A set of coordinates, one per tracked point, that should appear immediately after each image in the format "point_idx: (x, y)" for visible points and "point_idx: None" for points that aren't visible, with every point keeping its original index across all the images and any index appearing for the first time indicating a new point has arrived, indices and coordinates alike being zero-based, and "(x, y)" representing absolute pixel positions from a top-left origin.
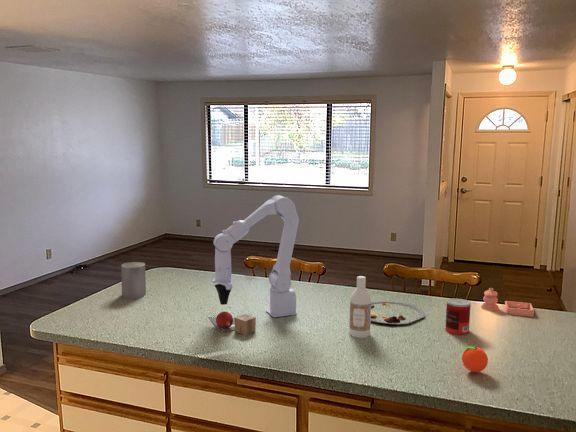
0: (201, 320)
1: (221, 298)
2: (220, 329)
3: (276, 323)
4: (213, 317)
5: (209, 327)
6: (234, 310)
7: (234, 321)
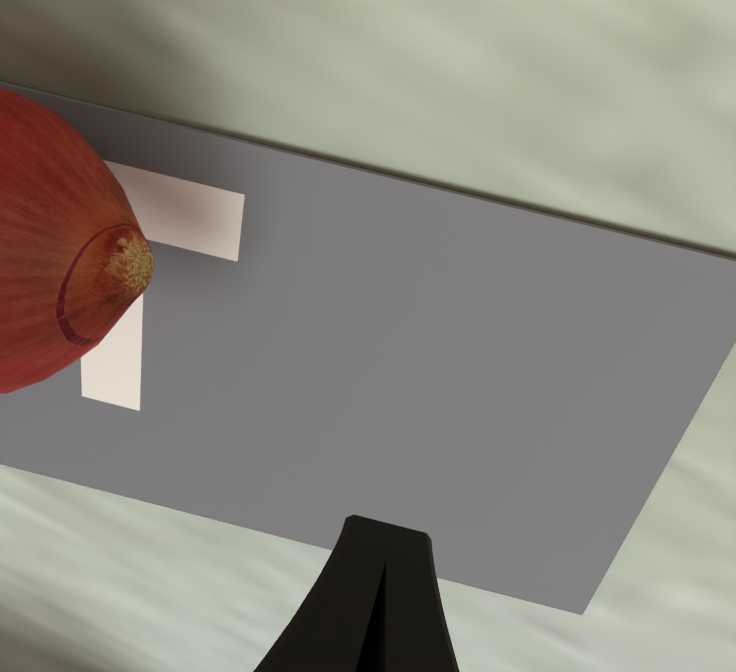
0: (647, 74)
1: (294, 640)
2: None
3: (35, 662)
4: (601, 310)
5: (220, 19)
6: (660, 643)
7: (255, 434)
